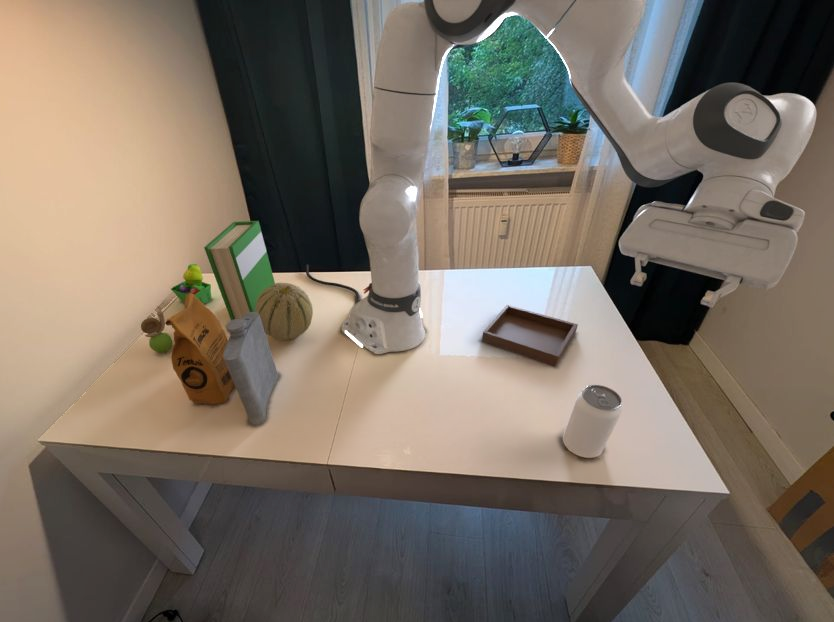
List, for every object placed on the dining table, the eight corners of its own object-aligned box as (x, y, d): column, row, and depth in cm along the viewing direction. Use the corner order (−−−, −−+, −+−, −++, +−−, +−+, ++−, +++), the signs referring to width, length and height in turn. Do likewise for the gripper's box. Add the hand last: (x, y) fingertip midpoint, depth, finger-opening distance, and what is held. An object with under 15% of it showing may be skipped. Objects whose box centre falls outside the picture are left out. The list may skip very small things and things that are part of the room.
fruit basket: (175, 302, 122) (160, 270, 115) (197, 290, 128) (185, 259, 121) (198, 310, 117) (184, 277, 110) (220, 297, 122) (208, 265, 115)
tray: (481, 341, 93) (482, 332, 91) (505, 313, 102) (506, 304, 100) (555, 366, 84) (558, 356, 82) (575, 333, 92) (578, 324, 91)
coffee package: (184, 407, 83) (139, 325, 70) (208, 369, 93) (171, 291, 80) (227, 407, 82) (189, 324, 69) (246, 369, 92) (216, 290, 78)
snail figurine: (182, 347, 102) (164, 309, 94) (159, 359, 98) (138, 321, 91) (174, 340, 105) (155, 303, 97) (151, 351, 101) (130, 314, 94)
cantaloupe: (267, 322, 108) (252, 274, 99) (317, 316, 108) (308, 268, 99) (259, 354, 96) (241, 303, 87) (316, 347, 97) (305, 297, 87)
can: (594, 430, 70) (615, 383, 62) (608, 460, 65) (632, 412, 57) (557, 429, 70) (573, 382, 63) (568, 458, 65) (587, 411, 58)
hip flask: (263, 424, 77) (233, 348, 65) (244, 425, 78) (210, 349, 65) (279, 373, 90) (257, 300, 78) (263, 373, 90) (238, 302, 78)
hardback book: (258, 327, 106) (232, 246, 91) (233, 327, 107) (204, 247, 93) (278, 295, 120) (258, 220, 105) (256, 295, 121) (233, 221, 106)
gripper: (643, 188, 60) (596, 265, 62) (823, 214, 47) (758, 311, 49) (645, 209, 65) (601, 280, 67) (808, 237, 52) (749, 325, 54)
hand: (668, 293), depth 58 cm, fingers open, 8 cm apart
